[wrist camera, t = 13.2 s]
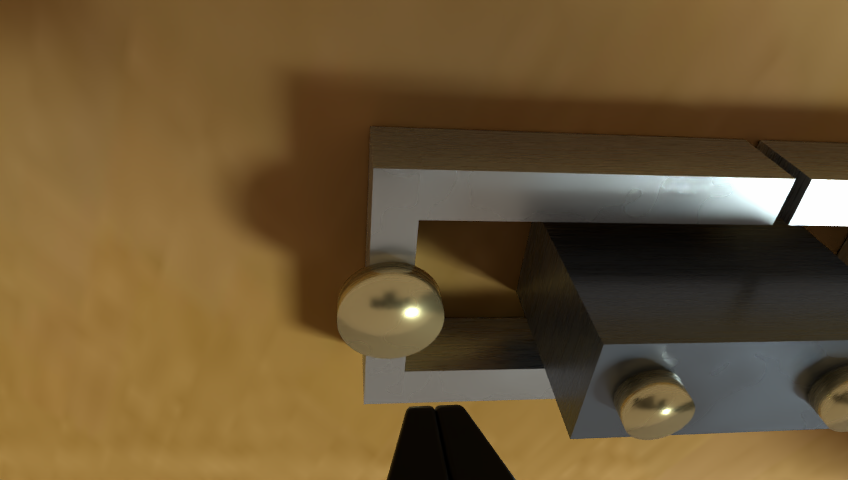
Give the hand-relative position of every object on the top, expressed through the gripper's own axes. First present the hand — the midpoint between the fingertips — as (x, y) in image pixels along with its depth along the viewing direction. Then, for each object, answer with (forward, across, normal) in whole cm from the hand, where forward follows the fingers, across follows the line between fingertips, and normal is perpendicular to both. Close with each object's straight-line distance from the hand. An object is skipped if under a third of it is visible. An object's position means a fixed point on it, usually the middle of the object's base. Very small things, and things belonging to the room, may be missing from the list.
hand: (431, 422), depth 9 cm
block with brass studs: (+7, -7, +2) cm, 10 cm away
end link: (+7, -4, +2) cm, 8 cm away
